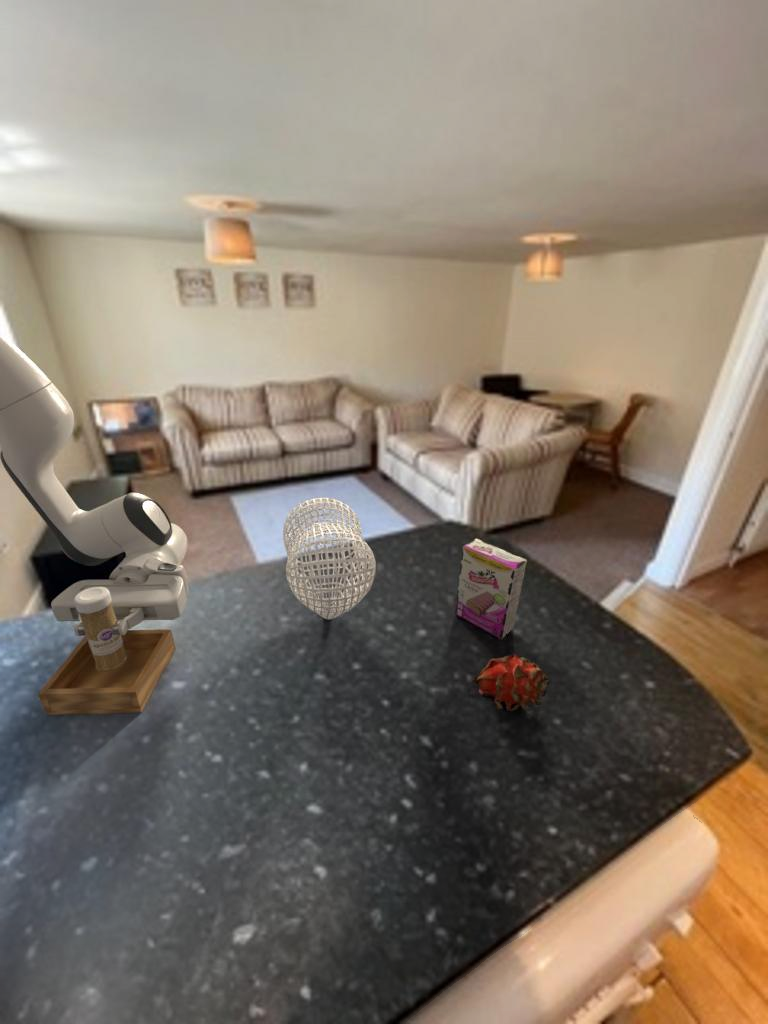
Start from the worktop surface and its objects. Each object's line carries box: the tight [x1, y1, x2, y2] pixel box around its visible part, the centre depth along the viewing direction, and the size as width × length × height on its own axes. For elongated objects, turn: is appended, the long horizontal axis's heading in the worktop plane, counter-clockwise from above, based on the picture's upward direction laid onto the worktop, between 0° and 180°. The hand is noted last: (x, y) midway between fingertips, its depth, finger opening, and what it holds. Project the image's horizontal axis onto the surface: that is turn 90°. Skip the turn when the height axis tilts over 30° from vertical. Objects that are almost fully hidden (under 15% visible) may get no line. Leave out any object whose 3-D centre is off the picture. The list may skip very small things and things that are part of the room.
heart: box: [282, 497, 377, 620], centre depth 86 cm, size 28×16×22 cm, turn 14°
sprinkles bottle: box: [74, 587, 127, 671], centre depth 70 cm, size 5×5×14 cm
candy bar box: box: [454, 538, 528, 638], centre depth 86 cm, size 11×5×16 cm, turn 46°
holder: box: [37, 629, 176, 716], centre depth 73 cm, size 14×14×4 cm
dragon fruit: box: [471, 653, 550, 712], centre depth 71 cm, size 8×8×12 cm
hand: (98, 632), depth 69 cm, fingers closed on sprinkles bottle, 4 cm apart
